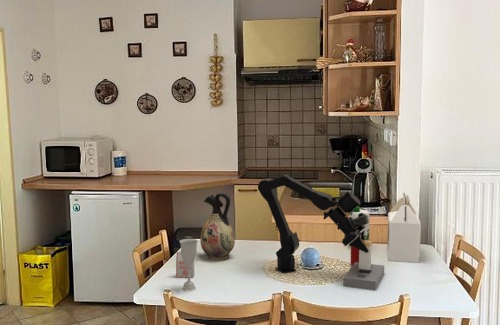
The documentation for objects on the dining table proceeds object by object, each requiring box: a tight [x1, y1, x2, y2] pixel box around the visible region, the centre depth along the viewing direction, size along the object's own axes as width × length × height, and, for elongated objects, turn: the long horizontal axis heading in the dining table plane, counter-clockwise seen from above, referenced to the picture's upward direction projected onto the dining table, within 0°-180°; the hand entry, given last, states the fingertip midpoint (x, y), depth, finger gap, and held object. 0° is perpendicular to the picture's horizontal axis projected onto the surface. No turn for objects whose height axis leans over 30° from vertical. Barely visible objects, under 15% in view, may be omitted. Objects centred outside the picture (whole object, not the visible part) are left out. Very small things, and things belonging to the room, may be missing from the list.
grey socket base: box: [342, 262, 385, 291], centre depth 213 cm, size 12×22×4 cm, turn 158°
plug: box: [359, 239, 373, 270], centre depth 213 cm, size 4×4×11 cm
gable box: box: [386, 192, 422, 264], centre depth 248 cm, size 22×13×28 cm, turn 167°
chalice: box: [179, 238, 199, 292], centre depth 202 cm, size 7×7×18 cm
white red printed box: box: [175, 251, 195, 279], centre depth 216 cm, size 4×7×10 cm, turn 88°
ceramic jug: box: [199, 191, 236, 261], centre depth 242 cm, size 17×15×30 cm
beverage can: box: [350, 246, 359, 267], centre depth 232 cm, size 7×7×12 cm
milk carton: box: [349, 206, 371, 244], centre depth 260 cm, size 9×9×20 cm
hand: (368, 250), depth 212 cm, fingers closed on plug, 4 cm apart
